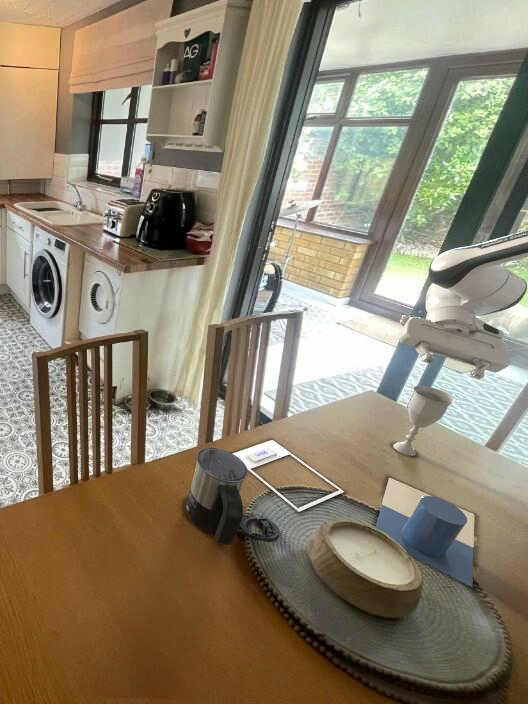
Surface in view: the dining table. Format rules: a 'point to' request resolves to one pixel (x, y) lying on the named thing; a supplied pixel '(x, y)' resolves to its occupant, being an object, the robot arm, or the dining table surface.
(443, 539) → the short blue cylinder
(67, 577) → the dining table surface
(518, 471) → the dining table surface
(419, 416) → the chalice
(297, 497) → the dining table surface
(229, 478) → the milk frother
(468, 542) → the board
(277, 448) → the photo frame
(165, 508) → the dining table surface
